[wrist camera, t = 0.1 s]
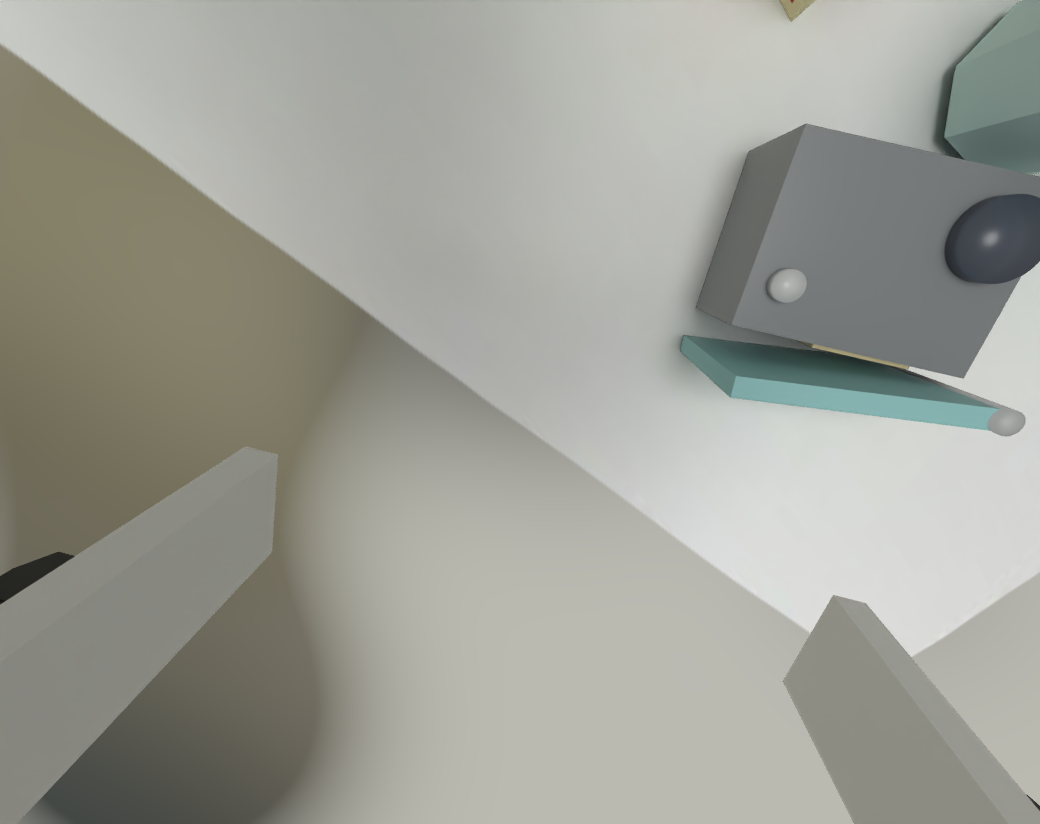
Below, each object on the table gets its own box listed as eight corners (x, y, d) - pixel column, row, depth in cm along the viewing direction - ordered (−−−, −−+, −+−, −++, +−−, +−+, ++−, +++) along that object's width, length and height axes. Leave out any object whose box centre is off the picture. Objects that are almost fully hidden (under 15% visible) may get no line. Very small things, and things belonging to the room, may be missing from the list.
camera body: (749, 151, 32) (815, 119, 24) (953, 197, 32) (1093, 182, 24) (694, 311, 36) (735, 333, 27) (877, 353, 36) (974, 388, 27)
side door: (881, 358, 36) (1030, 412, 24) (873, 377, 36) (1016, 440, 25) (684, 334, 36) (739, 376, 25) (679, 353, 37) (731, 404, 25)
